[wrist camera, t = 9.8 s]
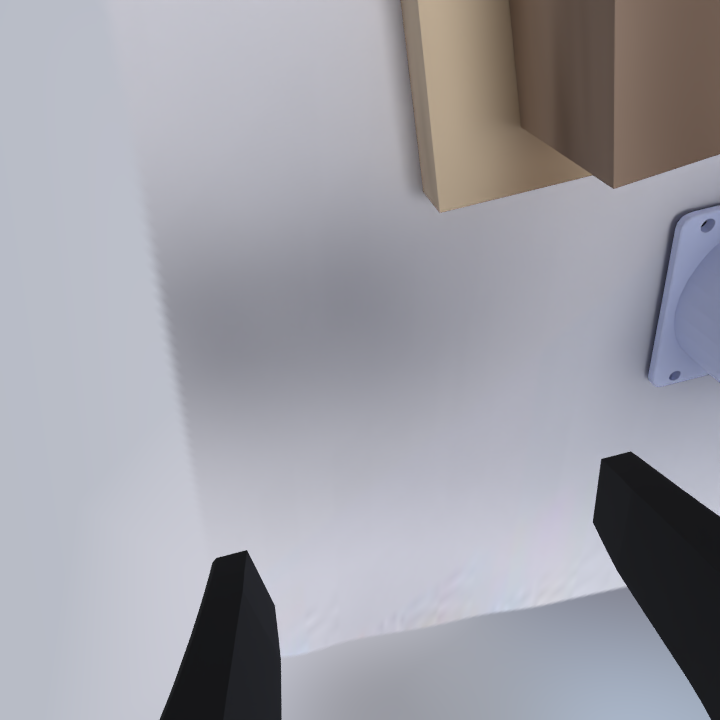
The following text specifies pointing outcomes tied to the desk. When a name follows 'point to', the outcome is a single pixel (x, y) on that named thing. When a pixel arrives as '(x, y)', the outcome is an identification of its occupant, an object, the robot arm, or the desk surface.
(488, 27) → the oak slab
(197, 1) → the desk surface
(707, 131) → the walnut block
